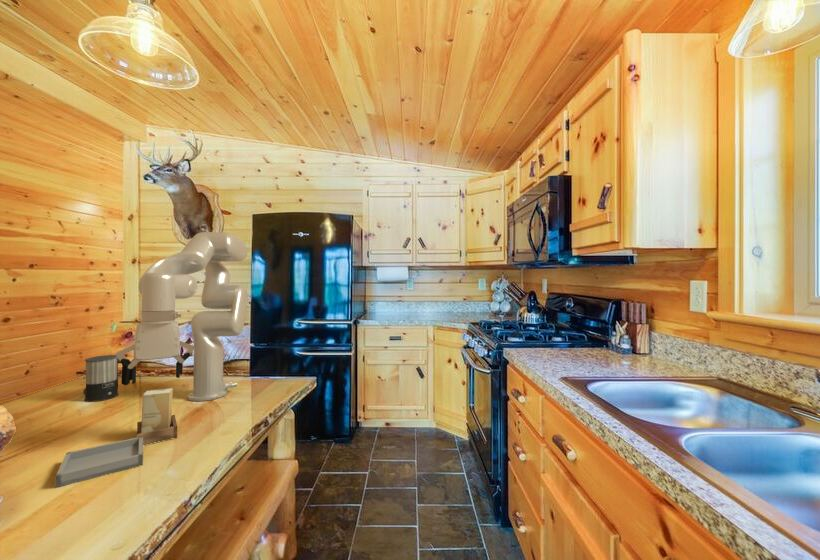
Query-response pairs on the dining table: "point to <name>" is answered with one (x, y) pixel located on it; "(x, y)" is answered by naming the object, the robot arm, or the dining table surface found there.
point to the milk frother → (103, 377)
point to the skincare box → (156, 410)
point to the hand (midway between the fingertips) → (156, 379)
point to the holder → (158, 433)
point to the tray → (100, 461)
